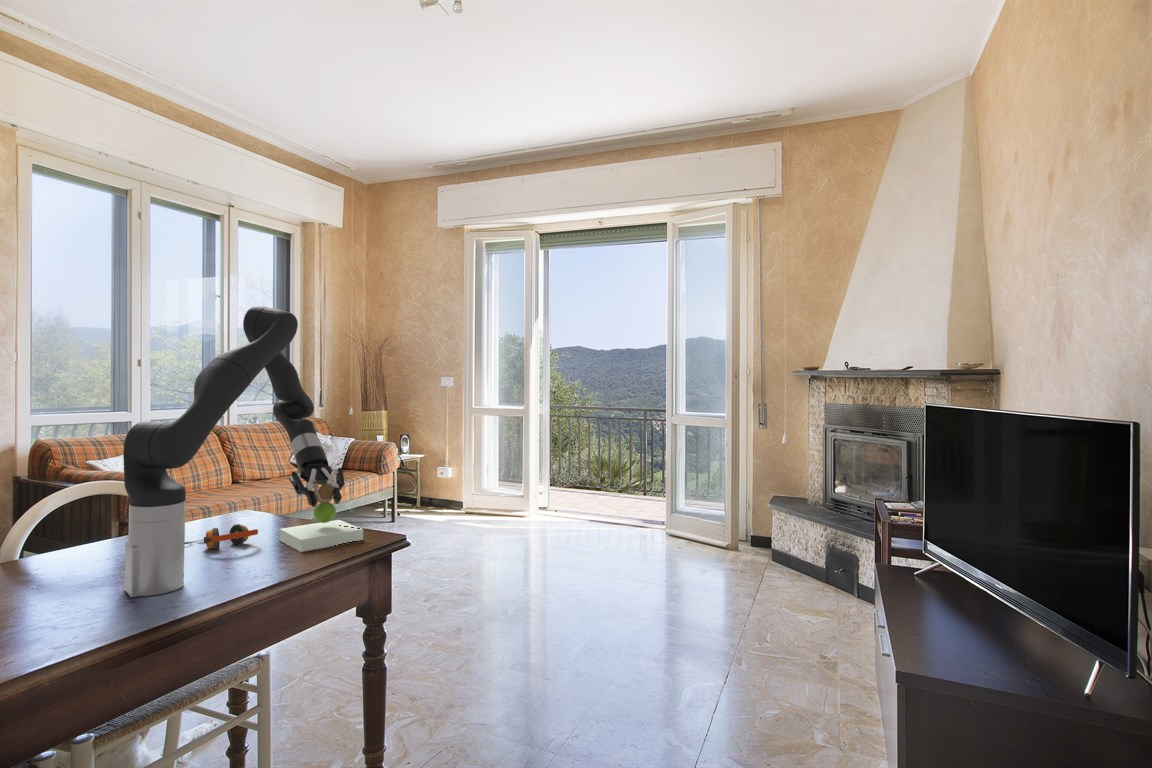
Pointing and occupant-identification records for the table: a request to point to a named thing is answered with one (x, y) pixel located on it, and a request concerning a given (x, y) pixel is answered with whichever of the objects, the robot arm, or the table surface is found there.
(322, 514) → the snail figurine
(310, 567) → the table surface
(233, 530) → the headphones
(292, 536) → the sage board
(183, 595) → the table surface
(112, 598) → the table surface
